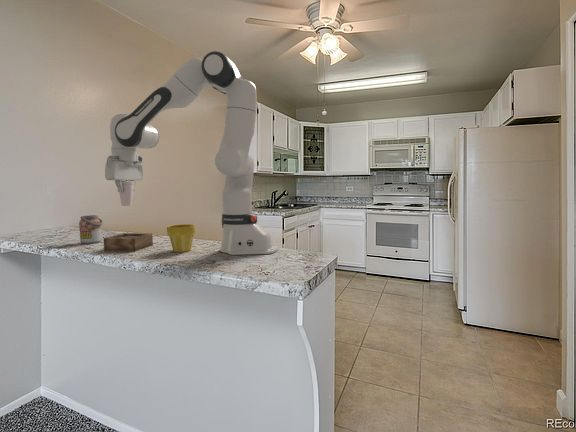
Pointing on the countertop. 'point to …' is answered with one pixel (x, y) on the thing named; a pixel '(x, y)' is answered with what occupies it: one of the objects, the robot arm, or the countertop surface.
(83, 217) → the decorated jar
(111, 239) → the box
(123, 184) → the smoothie
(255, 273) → the countertop surface
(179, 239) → the plant pot
